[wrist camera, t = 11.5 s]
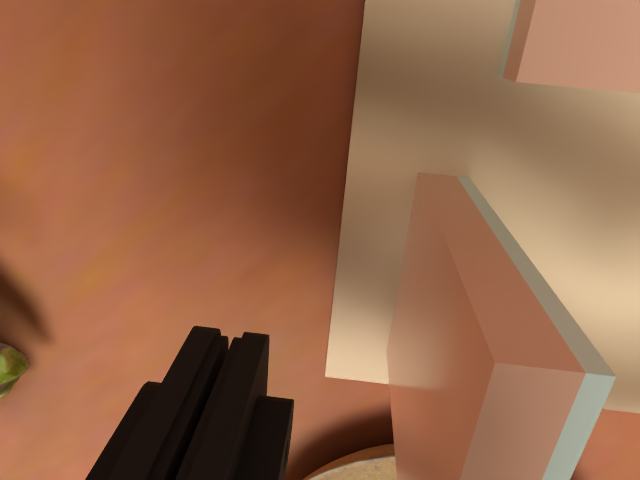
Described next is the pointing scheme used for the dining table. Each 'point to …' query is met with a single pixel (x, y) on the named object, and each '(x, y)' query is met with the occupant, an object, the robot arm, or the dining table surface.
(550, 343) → the tile
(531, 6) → the tile
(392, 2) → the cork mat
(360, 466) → the plant saucer
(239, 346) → the robot arm
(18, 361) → the passion flower
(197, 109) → the dining table surface
